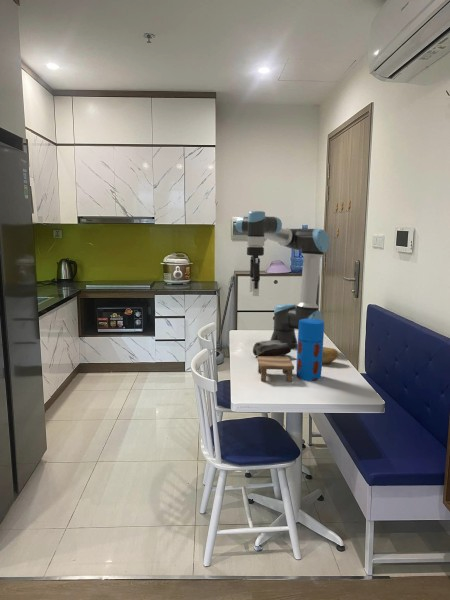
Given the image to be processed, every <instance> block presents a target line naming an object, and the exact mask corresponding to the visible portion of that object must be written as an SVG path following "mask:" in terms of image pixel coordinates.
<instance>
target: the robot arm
mask: <svg viewBox="0 0 450 600" xmlns="http://www.w3.org/2000/svg"><path fill="white" fill-rule="evenodd" d="M282 227H283V223H282V220H281V218H280V217H276V216H266V212H265V211H263V210H249V211H248V214H247V216H240V217H237V219H236V221H235V229H236V231H237V232H239V233H243V234H245V233H246V234H247V238H246V239H245V241H246V243H247V247H246V255H247V256H250V263H249V265H250V266H249V267H250V269H249V292H251V293H252V297H259V296H260V295H259V294H260V280H261V278H260V277H261V276H260V275H261V273H260V265H261V263H260V262H261V260H260V259H261V258H260V257H262V256H264V255H265V254H264V252H265V248H264V246H265V239H267V240H269V241H273V242H276V243H278V245H280V246H283V247H286V248H289V249H291V250H295V251H300V254H301V256H302V257H303V261H302V262H303V263H302V274H301V282H300V283H301V284H300V294H299V302H298V303H297V304H296V303H282V304H277V305H275V307H274V312H273V315H274V316H273V332H272V334H271V337H270V339H269V340H278V341H282V342H283V343H287V344H288V348H290V349H293V348H297V346H298V338H297V337H296V331H295V330H298V327H299V320H301V319H317V320H322V321H323V314H322V312H321V311H320V310H319V308H320V307H319V306H318V304H317V296H318V286H319V285H318V284H319V276H320V275H319V274H320V264H321V258H322V257H323V256H324V253H325V252H327V251H328V249H329V247H330V238H329V235H328V232H327V231H325V230H324V229H323V228H322V229H321V228H289V227H283V228H282Z"/></svg>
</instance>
